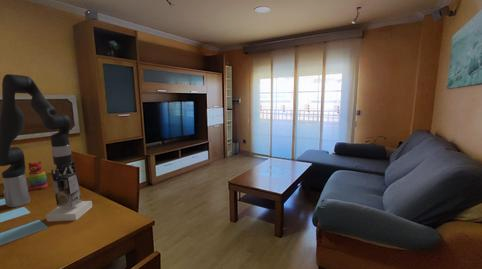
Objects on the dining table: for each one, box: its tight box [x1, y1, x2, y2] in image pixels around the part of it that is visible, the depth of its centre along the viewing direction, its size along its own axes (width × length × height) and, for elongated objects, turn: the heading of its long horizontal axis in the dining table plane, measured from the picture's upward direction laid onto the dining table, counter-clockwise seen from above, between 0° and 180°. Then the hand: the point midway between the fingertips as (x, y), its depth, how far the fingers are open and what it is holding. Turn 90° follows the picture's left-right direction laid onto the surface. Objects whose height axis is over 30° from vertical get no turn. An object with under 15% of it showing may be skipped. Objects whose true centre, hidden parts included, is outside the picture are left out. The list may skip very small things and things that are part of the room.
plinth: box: [45, 200, 93, 222], centre depth 120 cm, size 14×14×4 cm
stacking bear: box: [27, 161, 49, 192], centre depth 153 cm, size 11×10×18 cm
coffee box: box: [51, 172, 83, 208], centre depth 118 cm, size 9×6×16 cm
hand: (66, 184), depth 117 cm, fingers closed on coffee box, 7 cm apart
